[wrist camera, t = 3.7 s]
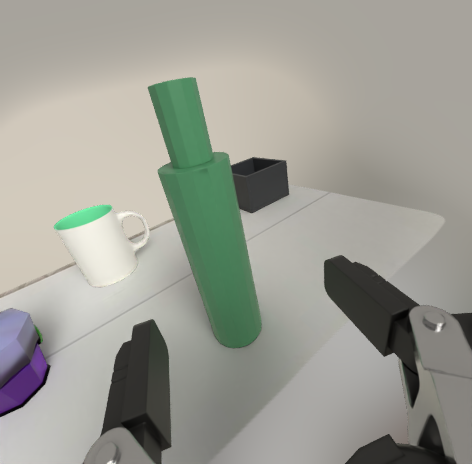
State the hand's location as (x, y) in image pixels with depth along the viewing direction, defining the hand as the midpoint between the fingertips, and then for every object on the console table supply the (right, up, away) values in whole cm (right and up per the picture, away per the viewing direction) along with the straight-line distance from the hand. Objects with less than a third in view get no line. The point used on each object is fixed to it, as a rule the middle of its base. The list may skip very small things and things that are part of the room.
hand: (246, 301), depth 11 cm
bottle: (0, -7, +15) cm, 17 cm away
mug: (-20, -3, +31) cm, 37 cm away
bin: (+4, +11, +46) cm, 48 cm away
